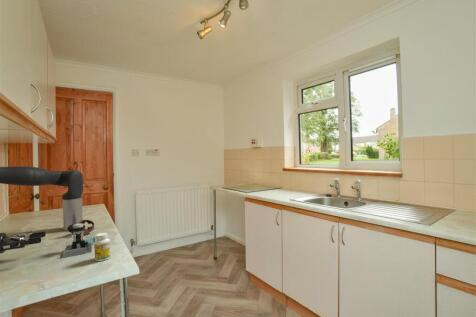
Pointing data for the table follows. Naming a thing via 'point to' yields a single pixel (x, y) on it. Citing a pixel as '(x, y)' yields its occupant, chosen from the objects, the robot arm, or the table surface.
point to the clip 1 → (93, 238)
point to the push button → (77, 236)
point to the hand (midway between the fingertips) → (43, 236)
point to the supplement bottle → (102, 247)
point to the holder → (78, 249)
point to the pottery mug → (84, 229)
